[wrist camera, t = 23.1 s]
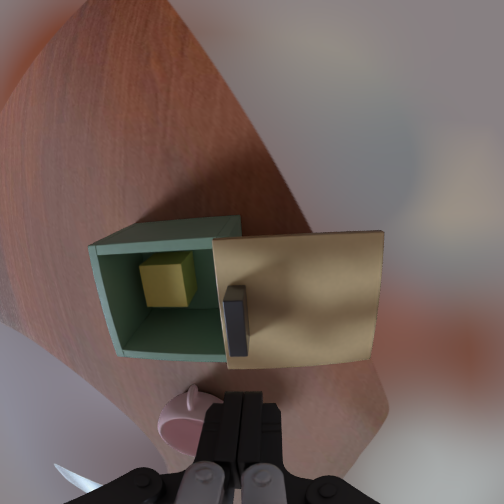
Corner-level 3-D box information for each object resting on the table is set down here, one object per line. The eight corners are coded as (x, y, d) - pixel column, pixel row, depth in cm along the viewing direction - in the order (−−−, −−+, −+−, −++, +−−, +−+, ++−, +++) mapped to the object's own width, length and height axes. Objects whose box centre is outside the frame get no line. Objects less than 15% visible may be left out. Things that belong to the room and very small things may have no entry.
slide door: (213, 237, 18) (203, 251, 15) (381, 229, 17) (400, 240, 15) (228, 364, 21) (223, 390, 18) (368, 354, 20) (379, 378, 17)
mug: (240, 431, 35) (236, 462, 30) (174, 424, 36) (164, 453, 30) (237, 373, 32) (232, 407, 26) (159, 366, 32) (143, 397, 27)
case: (134, 223, 27) (87, 245, 19) (240, 214, 27) (228, 236, 18) (150, 311, 30) (117, 356, 22) (247, 310, 30) (241, 362, 21)
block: (154, 252, 27) (138, 265, 24) (192, 250, 27) (180, 263, 23) (161, 289, 29) (147, 307, 25) (197, 289, 28) (188, 307, 24)
